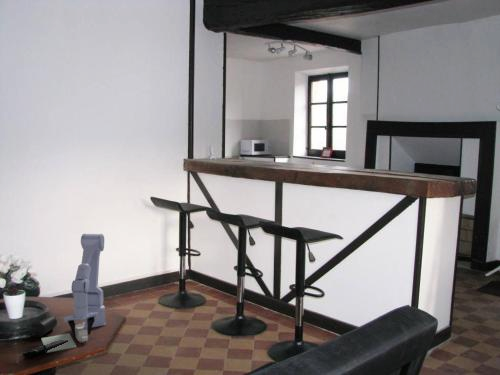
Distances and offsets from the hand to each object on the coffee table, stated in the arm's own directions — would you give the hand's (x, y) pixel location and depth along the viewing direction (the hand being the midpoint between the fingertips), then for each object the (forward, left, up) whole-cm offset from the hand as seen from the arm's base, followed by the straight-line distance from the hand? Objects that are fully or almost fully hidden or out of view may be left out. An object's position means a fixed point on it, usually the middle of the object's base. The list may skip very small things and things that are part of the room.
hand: (81, 335), depth 228 cm
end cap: (+14, -14, -2) cm, 20 cm away
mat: (+10, +1, -1) cm, 10 cm away
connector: (0, +1, -1) cm, 2 cm away
